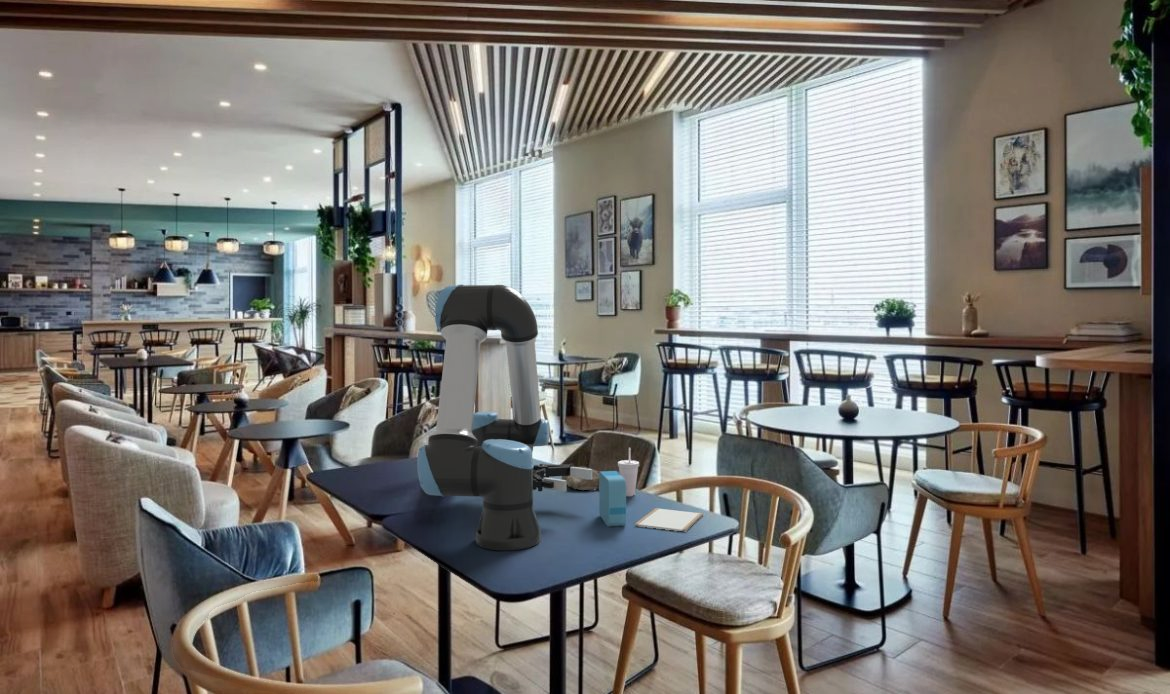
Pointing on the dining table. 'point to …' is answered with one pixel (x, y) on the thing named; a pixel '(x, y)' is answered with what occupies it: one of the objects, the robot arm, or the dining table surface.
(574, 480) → the flat brown rock
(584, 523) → the dining table surface
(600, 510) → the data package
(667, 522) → the mat
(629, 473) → the smoothie
